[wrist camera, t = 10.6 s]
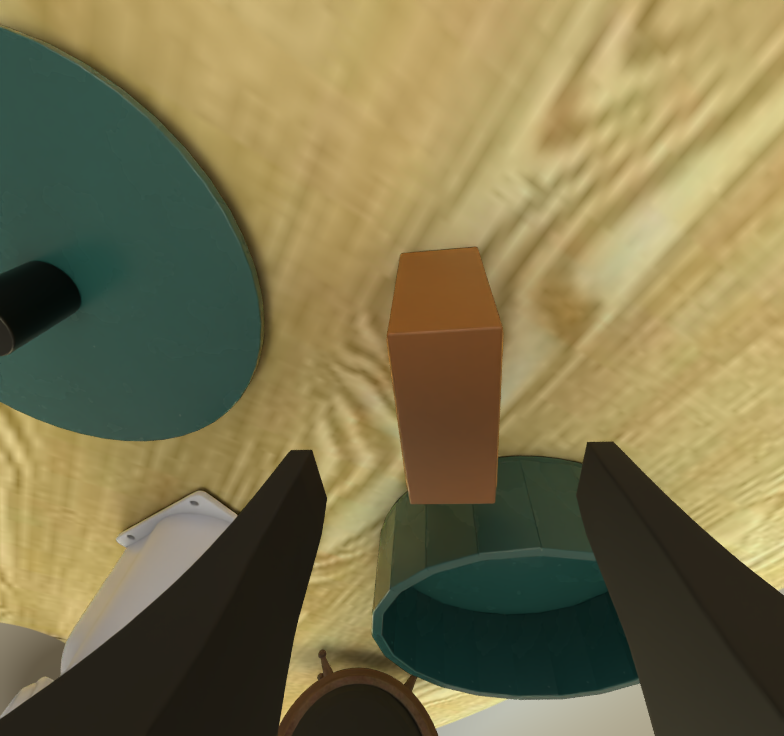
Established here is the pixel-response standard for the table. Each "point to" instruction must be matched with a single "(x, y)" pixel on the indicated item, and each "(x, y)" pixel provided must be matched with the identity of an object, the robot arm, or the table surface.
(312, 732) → the alarm clock
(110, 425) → the lid
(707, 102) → the table surface
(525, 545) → the pot
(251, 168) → the table surface
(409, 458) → the tall brown block
